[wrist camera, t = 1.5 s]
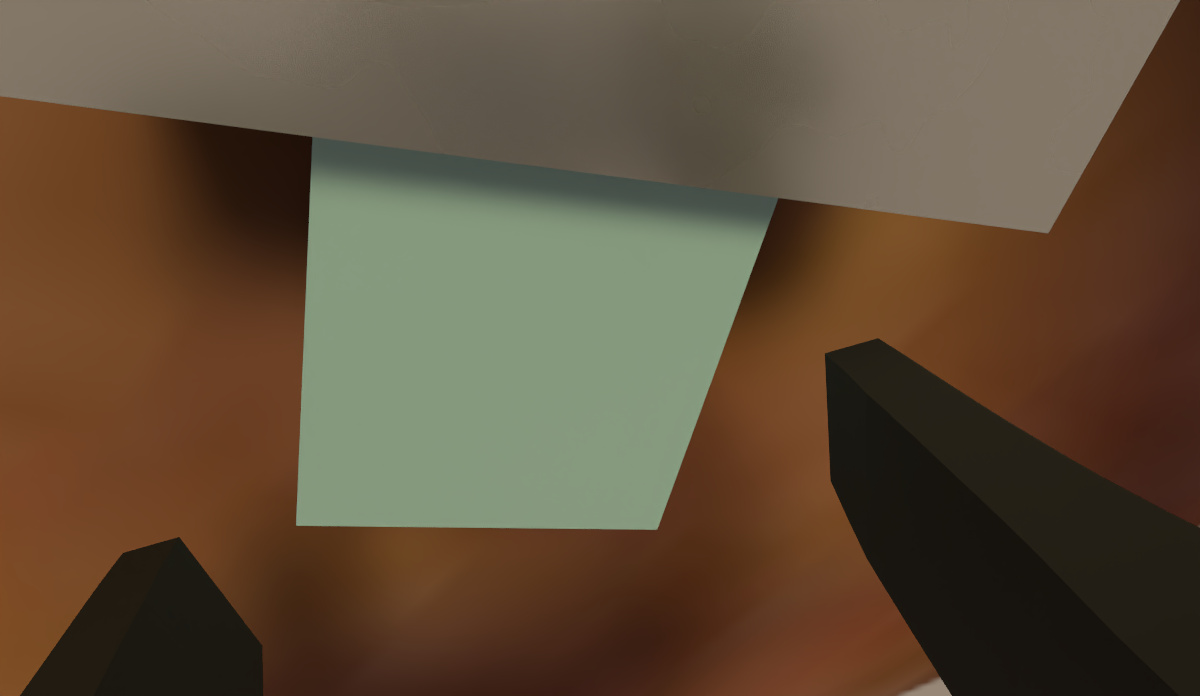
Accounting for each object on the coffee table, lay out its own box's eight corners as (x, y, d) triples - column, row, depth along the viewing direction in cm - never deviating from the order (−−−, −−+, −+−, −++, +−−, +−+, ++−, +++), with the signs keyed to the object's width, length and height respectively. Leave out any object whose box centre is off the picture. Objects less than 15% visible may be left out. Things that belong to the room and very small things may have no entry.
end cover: (768, -310, 11) (966, -316, 8) (595, 340, 17) (657, 529, 13) (359, -438, 10) (339, -531, 6) (319, 319, 16) (295, 525, 12)
